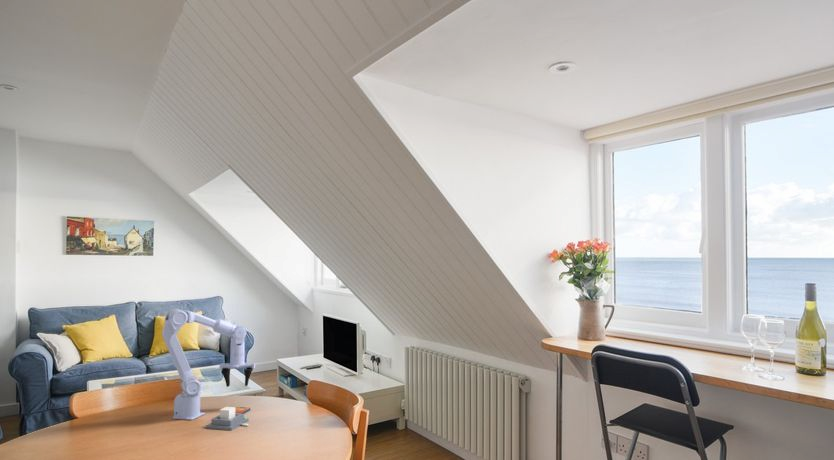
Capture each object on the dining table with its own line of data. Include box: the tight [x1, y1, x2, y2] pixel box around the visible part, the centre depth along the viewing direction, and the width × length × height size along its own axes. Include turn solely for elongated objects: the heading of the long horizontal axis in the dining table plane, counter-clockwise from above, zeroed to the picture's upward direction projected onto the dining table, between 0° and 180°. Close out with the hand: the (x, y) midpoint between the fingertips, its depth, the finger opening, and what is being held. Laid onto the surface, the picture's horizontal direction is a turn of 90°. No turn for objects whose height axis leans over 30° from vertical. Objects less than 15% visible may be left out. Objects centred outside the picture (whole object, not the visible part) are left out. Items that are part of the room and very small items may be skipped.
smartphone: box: [235, 406, 251, 415], centre depth 202 cm, size 7×15×1 cm, turn 168°
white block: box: [219, 406, 235, 419], centre depth 190 cm, size 4×4×5 cm
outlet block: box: [205, 413, 250, 431], centre depth 190 cm, size 14×11×3 cm
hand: (237, 385), depth 211 cm, fingers open, 7 cm apart
